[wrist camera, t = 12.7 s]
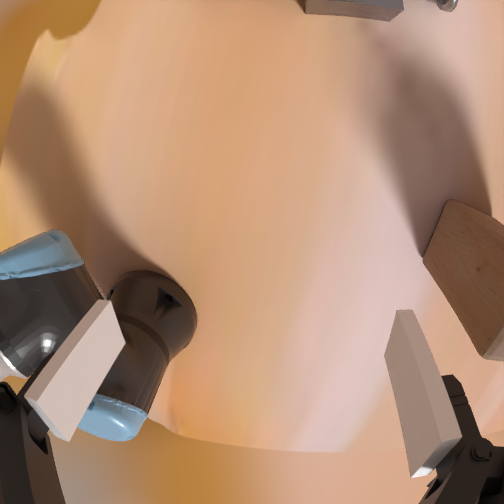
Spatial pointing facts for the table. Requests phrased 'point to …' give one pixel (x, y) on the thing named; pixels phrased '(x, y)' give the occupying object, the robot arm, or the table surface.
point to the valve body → (366, 8)
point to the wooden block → (471, 273)
